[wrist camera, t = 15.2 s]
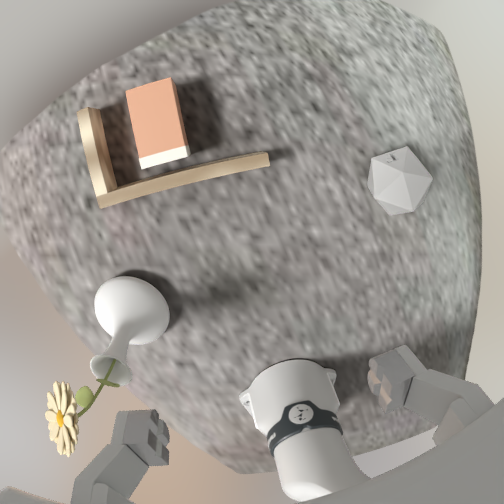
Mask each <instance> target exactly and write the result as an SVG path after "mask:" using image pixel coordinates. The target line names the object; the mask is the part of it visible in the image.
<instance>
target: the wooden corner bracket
mask: <svg viewBox="0 0 504 504" xmlns="http://www.w3.org/2000/svg"><path fill="white" fill-rule="evenodd" d="M77 116H78V122H79V127H80V132H81V137H82V142H83V146H84V151H85V155H86V159H87V163H88V167H89V171H90V175H91V179H92V183H93V186H94V190H95V194H96V197H97V200H98V204H99V207H100V209H101V208H105V207H108V206H111V205H114V204H117V203H121V202H124V201H127V200H130V199H134V198H137V197H141V196H144V195H148V194H151V193H155V192H159V191H162V190H166V189H170V188H174V187H177V186H181V185H185V184H189V183H193V182H197V181H202V180H206V179H210V178H214V177H219V176H223V175H228V174H232V173H237V172H242V171H247V170H252V169H257V168H262V167H267V166H270V163H269V157H268V153H266V152H262V151H260V152H255V153H250V154H245V155H240V156H235V157H230V158H225V159H221V160H216V161H212V162H207V163H203V164H199V165H195V166H191V167H187V168H183V169H179V170H175V171H171V172H167V173H164V174H160V175H157V176H153V177H149V178H146V179H143V180H139V181H136V182H133V183H129V184H126V185H123V186H120V187H117V183H116V179H115V176H114V172H113V168H112V164H111V160H110V155H109V151H108V147H107V142H106V138H105V133H104V128H103V123H102V118H101V113H100V110H99V109H95V108H90V107H87V108H84V109H82V110H80V111H77Z"/></svg>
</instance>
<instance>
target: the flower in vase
mask: <svg viewBox="0 0 504 504" xmlns="http://www.w3.org/2000/svg"><path fill="white" fill-rule="evenodd" d="M95 313H96V316H97V319H98V321H99V323H100V324H101V326H102V327H103V328H104V330H105V331H106V332H107V333H109V334H110V335H111V336H112V337H113V338H112V340H111V342H110V344H109V346H108V348H107V349H106V351H105V352H104V353H103V354H99V355H96V356H95V357H93V358H92V359H91V362H90V368H91V370H92V372H93V374H94V375H95V376H96V377H97V378H98V379H97V381H98V382H100V383H101V385H100V387H99V389H98V390H97V392H96V394H95V396H94V395H93V393H92V391H91V390H90V389H89V387H87V386H84V387H82V388H80V389H79V390H78V391H77V393H76V396H75V398H74V395H73V392H72V391H71V389H70V385H69V383H67V384H66V385H65V382H64V381H62V383H61V384H60V383H59V382H57V381H55V382H54V384H53V388H54V396H55V397H54V396H53V395H52V393H51V392H50V391H49V392H48V393H47V397H48V400H49V401H48V403H47V405H48V408H49V410H48V411H46V413H45V417H46V419H47V420H48V421H50V422H49V430H50V440H51V441H53V440H55V443H56V444H57V450H58V452H59V453H60V455H62V454H64V455H66V454H67V456H68V457H69V456H70V455H71V452H72V453H73V452H74V450H75V444H77V440H78V439H77V435H78V433H79V427H78V425H77V423H78V418H79V417H80V416H81V415H83V414H84V413H85V412H86V411H87V410H88V409H89V408H90V407H91V405H92V404H93V402H94V401H95V399H96V398H97V396H98V394H99V393H100V391H101V389H102V388H103V386H104V385H107V386H112V387H119V386H124V385H127V384H128V383H130V381H131V380H132V372H131V369H130V368H129V366H128V365H127V361H126V355H127V349H128V345H129V344H135V345H141V344H147V343H150V342H153V341H154V340H156V339H157V338H159V337H160V336H161V335H162V334H163V333H164V332H165V330H166V329H167V326H168V324H169V319H170V312H169V308H168V305H167V302H166V300H165V299H164V297H163V296H162V294H161V293H160V292H159V291H158V290H157V289H156V288H155V287H154V286H152V285H151V284H149V283H148V282H146V281H144V280H141V279H138V278H135V277H130V276H120V277H115V278H112V279H110V280H108V281H106V282H105V283H103V284H102V285H101V286H100V288H99V289H98V291H97V293H96V296H95ZM77 404H78V405H80V406H81V407H84V409H83V410H82V411H81V412H80V413H78V414H77V413H76V409H77Z"/></svg>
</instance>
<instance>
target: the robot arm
mask: <svg viewBox="0 0 504 504" xmlns="http://www.w3.org/2000/svg"><path fill="white" fill-rule="evenodd" d="M369 366H370V368H371V369H370V371H369V372H368V377H367V379H368V385H369V387H370V390H371V391H372V393H373V394H374V395H376V396H379V399H378V403H379V405H380V407H381V408H382V410H383V412H384V413H385V414H387V413H389V412H391V411H394V410H396V409H398V408H401V407H403V406H404V407H405V408H406V409H408V410H410V411H412V412H414V413H416V414H417V415H419V416H421V417H423V418H425V419H427V420H429V421H431V422H433V423H435V424H436V425H438V428H437V430H436V431H435V433H434V435H433V438H432V439H433V440H434V442H435V444H436V445H437V446H436V447H434V448H432V449H430V450H429V451H427V452H425V453H423V454H422V455H420V456H418V457H416V458H414V459H412V460H410V461H408V462H407V463H404V464H403V465H400V466H398V467H396V468H394V469H392V470H390V471H388V472H386V473H384V474H381V475H379V476H376V477H374V478H372V479H371V478H369V477H368V476H366V474H364V473H363V472H362V471H361V470H360V469H359V467H358V466H357V465H356V463H355V461H354V459H353V458H352V456H351V454H350V452H349V450H348V448H347V446H346V444H345V442H344V440H343V437H342V435H343V431H342V428H341V424H340V421H339V420H338V418H337V416H336V413H337V411H338V407H339V406H340V402H339V400H338V397H337V395H336V392H335V390H334V387H333V386H334V383H335V380H336V376H337V375H336V372H335V370H333V369H328V368H323V367H321V366H320V365H318V364H317V363H315V362H312V361H308V360H289V361H285V362H281V363H278V364H275V365H273V366H271V367H269V368H267V369H266V370H264V371H263V372H261V373H260V374H259V375H258V376H257V377H256V378H255V379H254V381H253V382H252V384H251V386H250V387H249V388H248V389H246V390H245V391H243V392H242V393H241V394H240V395H239V399H240V402H241V403H242V404H243V406H244V407H245V408H246V409H247V411H248V412H249V413H250V414H251V415H252V417H253V418H254V423H255V426H256V428H257V429H259V430H260V432H261V433H263V434H264V435H265V436H266V437H267V441H268V447H269V450H270V452H271V455H272V456H273V457H274V458H275V462H276V466H277V470H278V474H279V478H280V482H281V486H282V489H283V491H284V492H285V493H286V495H288V496H289V497H290V498H292V499H294V500H296V501H300V502H299V503H295V504H504V398H503V399H501V400H500V401H499V402H498V403H497V404H496V405H494V403H493V402H492V401H491V400H490V398H489V397H488V396H487V395H486V394H485V393H484V391H483V390H482V389H481V388H480V387H479V386H478V384H474V383H471V382H468V381H465V380H462V379H459V378H456V377H453V376H450V375H447V374H444V373H441V372H438V371H436V370H433V369H429V370H427V369H426V368H425V367H424V365H423V364H422V363H421V362H420V361H419V359H418V358H417V357H416V356H415V355H414V353H413V352H412V351H411V350H410V349H409V348H408V346H406V345H402V346H400V347H397V348H395V349H392V350H389V351H387V352H385V353H382V354H380V355H377V356H375V357H372V358H371V359H370V360H369ZM168 443H169V430H168V427H167V425H166V423H165V422H164V421H163V420H161V419H159V414H158V412H157V411H156V410H155V409H154V410H138V411H137V410H136V411H119V412H118V413H117V415H116V419H115V424H114V429H113V434H112V439H111V444H107V446H106V447H105V448H104V449H103V450H102V451H101V452H100V453H99V454H98V455H97V456H96V457H95V458H94V460H92V462H91V463H90V464H89V465H88V466H87V467H86V468H85V469H84V470H83V471H82V472H81V473H80V474H79V476H77V477H76V479H75V482H74V487H73V492H72V498H71V504H135V503H134V502H132V501H130V500H129V498H130V496H131V495H132V493H133V492H134V490H135V489H136V487H137V485H138V484H139V482H140V481H141V479H142V478H143V476H144V475H145V473H146V471H147V470H148V468H149V466H162V465H169V451H168V449H167V448H166V446H167V444H168ZM0 504H64V503H60V502H56V501H52V500H49V499H46V498H42V497H39V496H36V495H33V494H30V493H27V492H25V491H22V490H19V489H17V488H14V487H9V486H8V487H5V488H3V489H2V490H1V491H0Z"/></svg>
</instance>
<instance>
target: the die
mask: <svg viewBox="0 0 504 504" xmlns="http://www.w3.org/2000/svg"><path fill="white" fill-rule="evenodd" d="M432 180H433V177H432V176H431V175H430V174H429V172H428V171H427V170H426V168H425V167H424V166H423V165H422V163H421V162H420V161H419V160H418V158H417V157H416V156H415V155H414V153H413V152H412V151H411V150H410V149H409V148H408V146H406V147H403V148H400V149H397V150H394V151H391V152H388V153H385V154H382V155H379V156H376V157H373V158H372V159H371V165H370V171H369V177H368V183H367V186H368V188H369V190H370V191H371V193H372V195H373V197H374V199H375V200H376V201H377V202H378V203H379V204H380V205H381V206H382V207H383V208H384V210H385V211H386V212H387V213H388V214H389V215H395V214H401V213H408V212H413V211H415V210H416V209H417V208H418V207H420V206H421V205H422V204H423V202H424V200H425V197H426V195H427V193H428V190H429V188H430V185H431V183H432Z"/></svg>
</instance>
